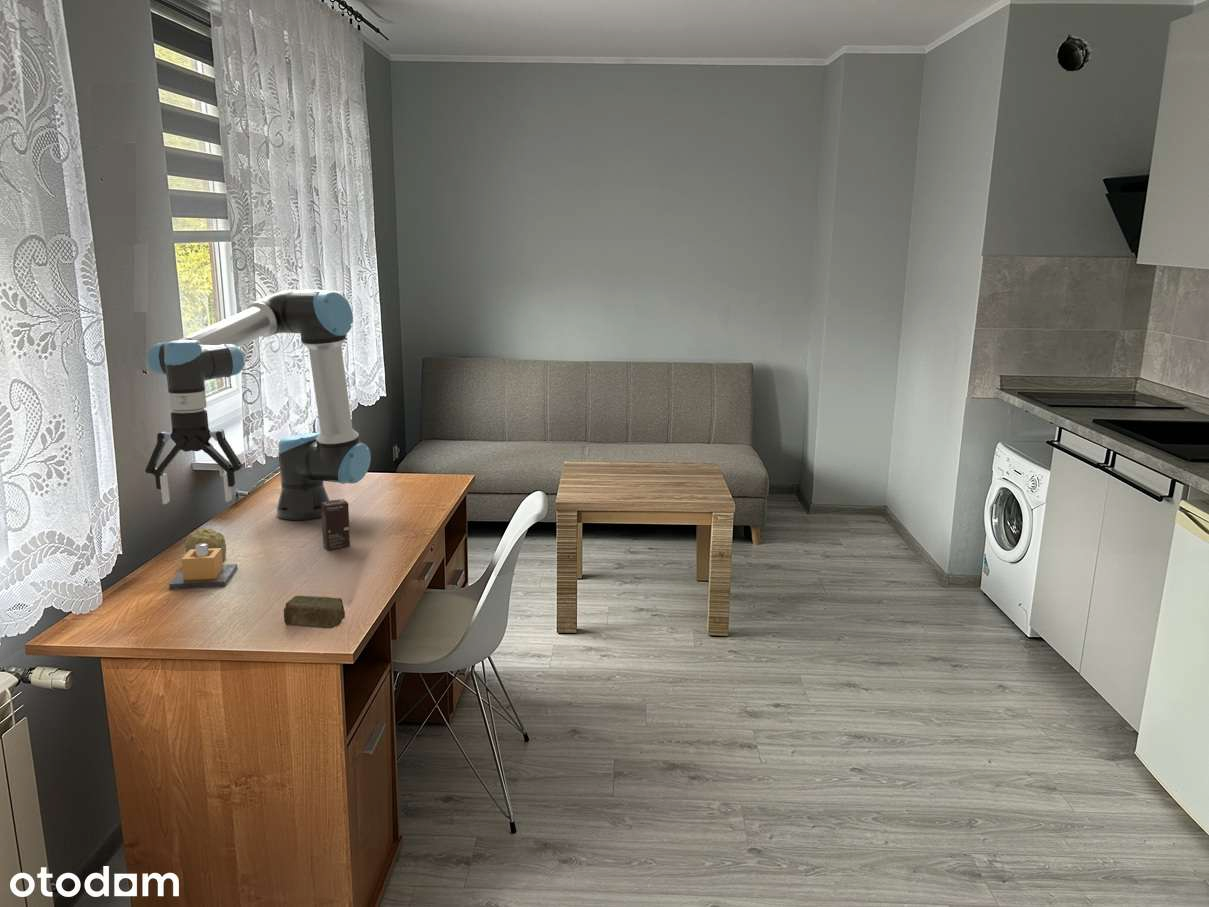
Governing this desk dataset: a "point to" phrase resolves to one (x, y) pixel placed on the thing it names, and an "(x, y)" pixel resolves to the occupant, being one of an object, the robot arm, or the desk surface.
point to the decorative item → (206, 540)
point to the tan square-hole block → (202, 564)
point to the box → (335, 524)
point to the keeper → (199, 583)
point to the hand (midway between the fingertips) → (197, 501)
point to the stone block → (314, 611)
